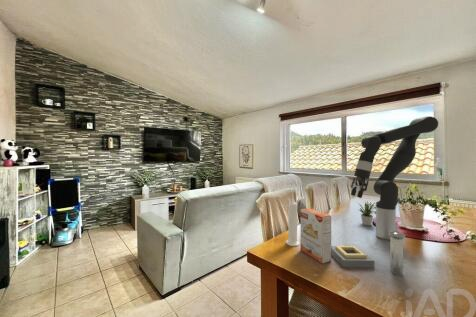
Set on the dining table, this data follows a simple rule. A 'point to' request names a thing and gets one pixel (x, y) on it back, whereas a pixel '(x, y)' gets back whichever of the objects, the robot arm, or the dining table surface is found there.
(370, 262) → the grey square socket base
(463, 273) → the dining table surface
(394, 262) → the shaft
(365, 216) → the house plant
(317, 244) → the cracker box
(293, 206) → the candle
